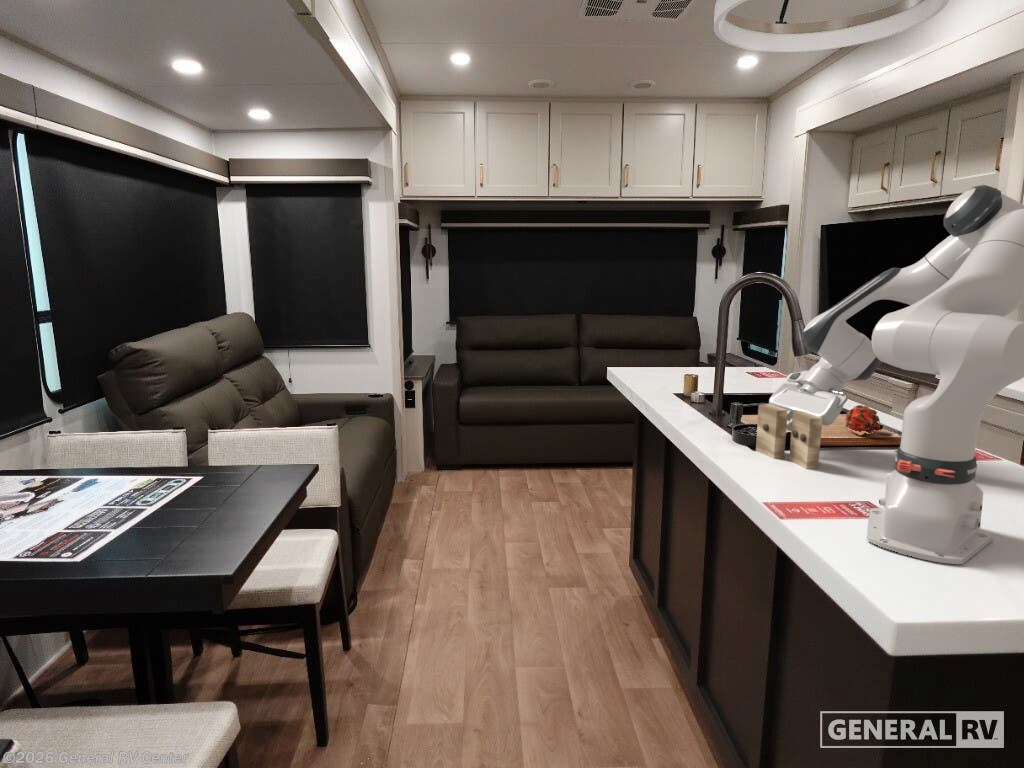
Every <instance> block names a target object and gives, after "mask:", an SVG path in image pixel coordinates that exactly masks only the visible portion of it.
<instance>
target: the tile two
mask: <svg viewBox="0 0 1024 768" xmlns="http://www.w3.org/2000/svg"><path fill="white" fill-rule="evenodd" d="M791 420H792V429H791V431H790V444H789V445H790V446H789V461H791V462H792V463H794V464H796V465H798V466H800V467H802V468H804V469H805V470H809V469H813V470H814V469H819V463H820V461H819V460H820V453H821V452H820V450H821V439H822V427H823V425H822V418H820V417H818V416H815V415H813V414H810V413H807V412H805V411H800V412H793V416H792V419H791Z"/></svg>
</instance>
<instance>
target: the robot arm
mask: <svg viewBox="0 0 1024 768" xmlns="http://www.w3.org/2000/svg"><path fill="white" fill-rule="evenodd" d="M943 227H944V228H945V229H946V231H947V232H948V233H949V234H950V235H949V236H947V237H946V238H945V239H943V240H942V241H941V242H939V243H938V244H936V246H934V248H932V249H931V250H930V251H928V253H927V254H925V256H923V257H922V258H921V259H920V260H918V261H916V262H915V263H913V264H911V265H908V266H906V267H903V268H900V267H891V268H889V269H888V270H885V271H883V272H882V273H880V274H878V275H877V276H874V278H871V280H869V281H867V282H866V283H865V284H863V285H862V286H860V287H859V288H858V289H856V290H855V291H852V293H850V294H849V295H848V296H846V297H845V298H843V299H842V300H841V301H839V302H837V304H835V305H833V306H832V307H830V308H829V309H826V311H824V312H822V313H820V314H819V315H817V316H815V317H814V318H812V319H811V320H810V321H809V322H808V323H807V324H806V326H805V327H804V329H803V330H802V332H801V333H802V342H803V344H804V347H805V348H806V349H808V350H809V351H811V352H813V353H814V354H816V355H818V356H819V357H820V359H819V361H818V362H816V363H815V364H814V365H812V366H811V367H810V369H807V370H803V371H799V372H792V373H789V374H788V375H787V376H786V381H784V382H782V383H781V384H780V385H779V386H778V387H777V389H776V390H775V391H774V392H773V393H772V395H771V396H770V397H769V399H768V404H771V405H774V406H777V407H780V408H783V409H786V410H788V412H787V426H786V431H790V432H791V429H792V416H793V412H800V411H805V412H807V413H810V414H813V415H815V416H818V417H820V418H822V426H825V427H829V426H830V425H833V424H834V422H835V421H836V419H837V418H838V417H839V415H840V414H841V412H842V410H843V409H844V405H845V403H846V402H847V401H848V398H849V397H848V395H847V393H846V392H844V391H842V390H843V389H844V386H845V384H846V382H847V381H848V380H851V381H853V382H854V381H866V380H868V379H869V378H870V377H871V376H873V374H874V373H875V372H876V371H877V369H878V368H879V367H880V366H881V364H882V363H884V364H888V365H890V366H893V367H894V368H898V369H901V370H904V371H908V372H909V371H910V372H915V373H923V374H929V375H936V376H939V382H938V385H937V387H936V389H935V391H934V392H933V393H928V394H925V395H923V396H920V397H918V398H915V399H914V400H912V401H911V402H910V403H908V405H906V407H905V409H904V412H903V419H902V425H901V426H902V427H901V437H900V445H899V446H898V447H897V449H896V453H895V458H894V460H895V462H894V470H892V471H890V472H889V473H886V478H885V479H886V480H885V489H884V490H885V491H884V497H880V498H879V500H878V504H879V506H880V507H873V508H870V510H869V513H868V525H867V535H866V541H867V540H868V541H869V542H868V541H867V542H868V543H870V542H871V543H870V544H872V543H873V544H872V545H874V544H876V545H878V546H877V547H879V546H880V547H879V548H881V547H883V548H882V549H884V548H886V549H885V550H887V549H889V550H888V551H890V550H893V551H895V552H894V553H896V552H898V553H897V554H901V555H904V556H907V555H908V557H911V556H912V557H913V558H916V559H921V560H925V561H930V562H935V563H942V564H949V565H963V564H965V563H966V562H967V561H969V560H970V559H971V558H973V556H975V555H976V554H977V553H979V552H980V551H981V550H982V549H983V548H985V547H986V546H988V545H989V544H990V543H992V542H993V540H992V539H993V536H992V534H991V532H987V531H986V530H984V529H982V528H981V523H982V513H983V500H984V491H983V490H982V488H980V487H979V486H978V485H977V484H976V482H975V481H974V479H975V478H976V472H977V468H978V464H977V462H978V461H977V460H978V459H977V457H976V456H975V455H976V454H975V453H976V448H977V447H976V446H977V441H978V434H979V430H980V425H981V420H982V417H983V415H984V413H985V410H986V408H987V407H988V405H989V404H990V402H991V401H992V399H994V397H995V396H996V395H997V394H999V393H1000V392H1001V391H1002V390H1003V389H1005V388H1006V387H1008V386H1009V385H1012V384H1013V383H1016V382H1018V381H1021V380H1022V379H1024V321H1022V320H1019V319H1015V318H1010V317H1007V316H1008V315H1010V314H1011V313H1013V312H1014V311H1016V310H1017V309H1018V308H1019V307H1020V306H1021V305H1022V304H1023V302H1024V204H1022V203H1021V202H1019V201H1017V200H1015V199H1014V198H1012V197H1009V196H1008V195H1006V194H1003V193H1002V191H1001V190H1000V189H998V188H996V187H992V186H991V185H990V186H989V185H985V184H981V185H976V186H973V187H971V188H970V189H968V190H967V191H964V192H963V193H961V194H960V195H959V196H957V197H956V198H955V199H954V200H953V202H951V204H950V205H949V206H948V209H947V211H946V213H945V214H944V217H943ZM880 300H888V301H889V300H890V301H894V302H898V303H902V304H906V305H909V306H906V307H904V308H901V309H898V310H896V311H893V312H892V311H891V312H888V313H886V314H885V315H883V316H882V317H881V318H880V319H879V321H878V322H877V323H876V324H875V326H874V328H873V330H872V334H871V340H870V338H869V337H868V336H866V335H865V334H864V333H862V332H860V331H858V330H857V329H855V328H854V327H852V326H851V325H850V324H848V323H847V320H848V319H850V318H851V317H852V316H854V315H855V314H857V313H858V312H860V311H861V310H863V309H864V308H866V307H867V306H869V305H870V304H872V303H874V302H876V301H880ZM881 506H882V507H881ZM876 545H875V546H876ZM893 551H892V552H893Z"/></svg>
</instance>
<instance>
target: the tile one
mask: <svg viewBox="0 0 1024 768" xmlns="http://www.w3.org/2000/svg"><path fill="white" fill-rule="evenodd" d="M787 412H788V410H786V409H783V408H780V407H777V406H774V405H771V404H769V403H765V404H764V403H762V404H758V409H757V424H756V425H757V428H756V441H755V443H756V444H755V452H758V453H760V454H763V455H765V456H768V457H769V458H770V459H771V458H772V459H782V458H785V454H786V453H785V452H786V440H787V439H786V436H787V430H786V426H787Z"/></svg>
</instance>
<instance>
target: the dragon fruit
mask: <svg viewBox="0 0 1024 768" xmlns="http://www.w3.org/2000/svg"><path fill="white" fill-rule="evenodd" d="M877 414H878V412H877V411H876V410H875V409H871V408H869V406H867V405H862V404H861V405H860V404H859V405H858V404H857V405H855V406H854V407H852V408H851V409H850V410H848V411H847V412H846V416H845V421H846V422H845V428H846V427H849V428H850V429H852V430H855V431H859V432H861V431H866V432H868V433H872V432H873V433H875V431H881V430H883V428H884V425H883V424H882V423H881V421H880V420H881V419H880V417H879V415H877ZM874 430H875V431H874ZM873 433H872V434H873Z"/></svg>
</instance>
